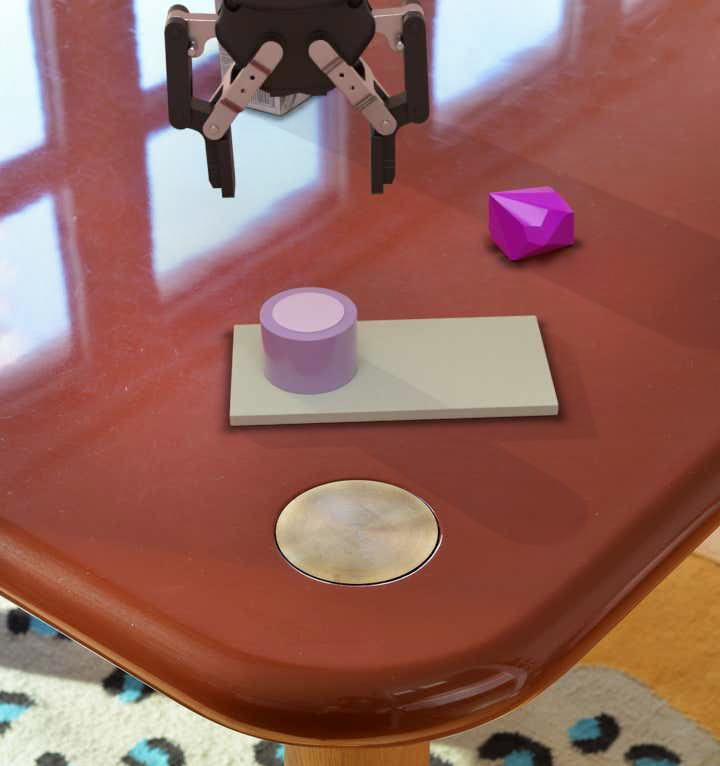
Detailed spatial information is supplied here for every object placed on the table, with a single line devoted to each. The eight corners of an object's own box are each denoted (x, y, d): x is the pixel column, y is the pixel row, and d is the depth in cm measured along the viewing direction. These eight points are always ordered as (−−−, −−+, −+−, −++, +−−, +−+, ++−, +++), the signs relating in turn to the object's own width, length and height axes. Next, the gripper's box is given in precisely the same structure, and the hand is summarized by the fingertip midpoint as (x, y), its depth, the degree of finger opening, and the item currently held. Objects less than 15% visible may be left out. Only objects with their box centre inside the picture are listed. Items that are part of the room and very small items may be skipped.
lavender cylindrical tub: (355, 338, 88) (355, 284, 85) (360, 393, 84) (359, 337, 81) (263, 341, 88) (259, 287, 85) (262, 396, 84) (258, 340, 81)
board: (535, 325, 91) (536, 315, 90) (557, 415, 83) (558, 404, 83) (234, 334, 90) (234, 324, 90) (230, 426, 83) (229, 415, 82)
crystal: (537, 274, 95) (542, 215, 92) (476, 249, 98) (479, 190, 95) (579, 246, 98) (586, 187, 95) (519, 222, 101) (523, 164, 98)
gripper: (138, -77, 65) (175, 226, 76) (437, -85, 65) (430, 219, 76) (151, -127, 70) (184, 162, 81) (427, -134, 70) (422, 156, 81)
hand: (303, 189), depth 79 cm, fingers open, 8 cm apart
